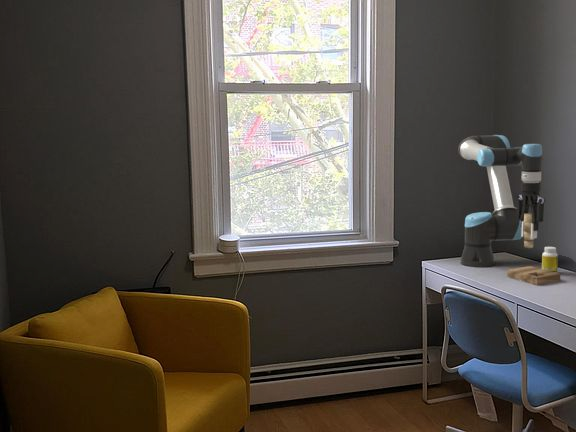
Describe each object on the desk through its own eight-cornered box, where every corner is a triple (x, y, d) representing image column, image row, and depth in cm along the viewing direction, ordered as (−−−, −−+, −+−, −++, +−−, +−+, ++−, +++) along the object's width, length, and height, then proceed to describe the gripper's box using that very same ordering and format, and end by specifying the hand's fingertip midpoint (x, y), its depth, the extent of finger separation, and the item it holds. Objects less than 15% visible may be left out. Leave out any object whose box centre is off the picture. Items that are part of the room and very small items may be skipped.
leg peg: (520, 246, 260) (521, 213, 257) (528, 245, 262) (529, 212, 259) (528, 248, 256) (530, 215, 253) (536, 247, 258) (537, 214, 255)
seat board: (506, 276, 260) (507, 269, 260) (529, 272, 266) (530, 266, 265) (536, 285, 246) (536, 278, 246) (560, 280, 251) (560, 273, 251)
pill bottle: (558, 274, 261) (559, 249, 259) (543, 274, 262) (544, 249, 261) (555, 271, 267) (556, 246, 265) (540, 271, 268) (541, 246, 267)
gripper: (508, 180, 260) (506, 234, 264) (541, 184, 245) (538, 242, 249) (521, 179, 263) (519, 232, 267) (554, 183, 248) (552, 239, 252)
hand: (529, 237), depth 258 cm, fingers closed on leg peg, 4 cm apart
